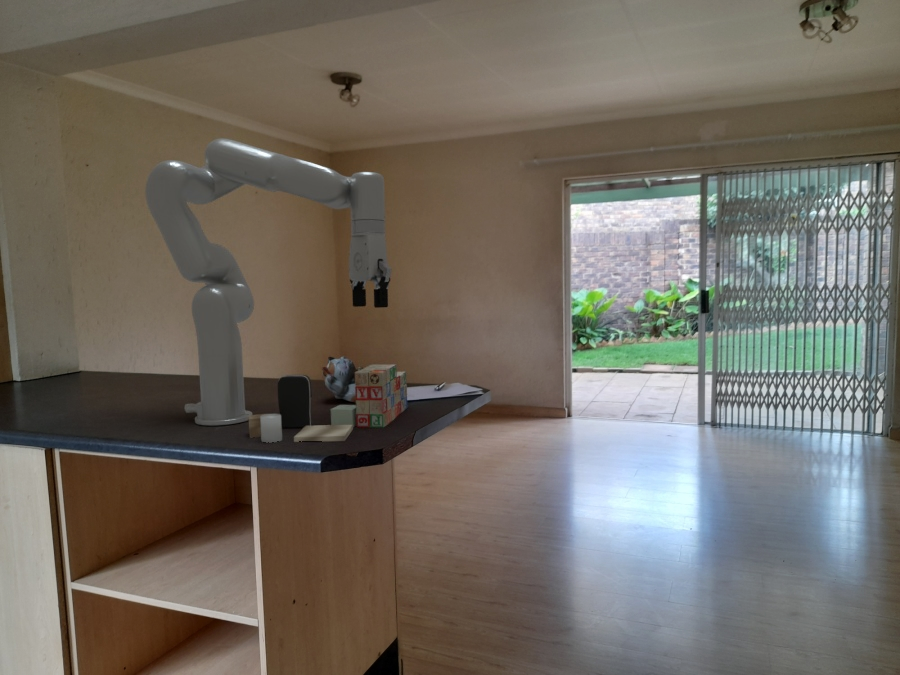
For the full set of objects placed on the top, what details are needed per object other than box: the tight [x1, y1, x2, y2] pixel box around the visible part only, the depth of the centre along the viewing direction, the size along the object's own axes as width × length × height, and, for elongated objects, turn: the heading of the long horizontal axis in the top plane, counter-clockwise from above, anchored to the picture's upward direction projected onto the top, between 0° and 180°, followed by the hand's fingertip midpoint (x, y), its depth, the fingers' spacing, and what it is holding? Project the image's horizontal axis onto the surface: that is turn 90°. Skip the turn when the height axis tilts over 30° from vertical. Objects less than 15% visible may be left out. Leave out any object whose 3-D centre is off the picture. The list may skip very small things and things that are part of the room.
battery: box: [277, 374, 313, 429], centre depth 135 cm, size 7×4×11 cm, turn 89°
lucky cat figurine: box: [321, 356, 365, 404], centre depth 165 cm, size 15×12×14 cm
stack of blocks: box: [355, 363, 409, 428], centre depth 143 cm, size 21×6×12 cm, turn 170°
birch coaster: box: [293, 424, 354, 443], centre depth 126 cm, size 10×10×1 cm
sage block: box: [330, 404, 357, 428], centre depth 136 cm, size 5×5×4 cm
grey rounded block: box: [260, 413, 283, 444], centre depth 123 cm, size 4×4×5 cm
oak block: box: [248, 413, 267, 439], centre depth 128 cm, size 4×4×4 cm
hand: (369, 306), depth 138 cm, fingers open, 9 cm apart
